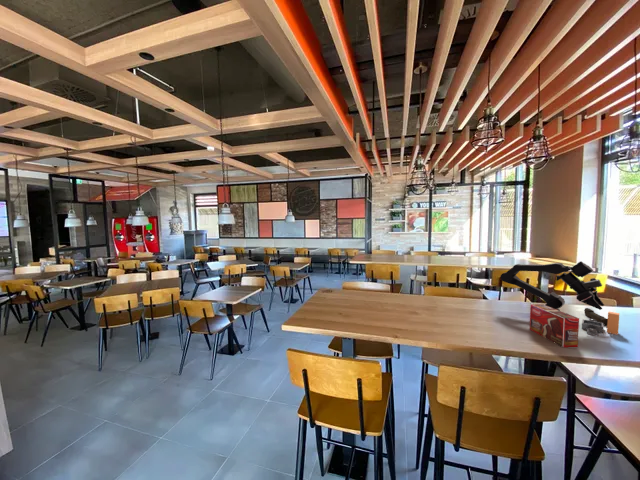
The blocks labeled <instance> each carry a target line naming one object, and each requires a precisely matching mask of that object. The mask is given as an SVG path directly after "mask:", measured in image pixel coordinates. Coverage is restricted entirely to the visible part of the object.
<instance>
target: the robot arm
mask: <svg viewBox="0 0 640 480" xmlns="http://www.w3.org/2000/svg"><path fill="white" fill-rule="evenodd" d="M519 272H543V273H544V272H545V273H547V274H548V273H549V274H553V275H556V277H555V278H556V282H558V281H560V280H562V282H564V283H565V284H566V285H567V286H568V287H569V289H570V290H573V291H574V292H575V293H576V300H577V301H578V302H581V303H583V304H585V305H587V306H590V307H593V308H595V309H597V310H599V311H601V310H603V307H604V306H605V304H604V302H603V301H602V300H601V298H600V297H599V295H598V290H597V288H599V287H600V288H602V286H603V284H602V282H601V280H600V279H596V277H592V278H590V280H588V281H584V280H581V279H579V277H580V278H583V277H586V276H587V275H589V274H591V273H593V272H594V269H593V268H592V267H591V266H590V265H588V264H586V263H585V262H583V261H579V262H577V263H576V264H575V265H572V266H571V265H570V266H568V265H565V264H564V263H561V262H553V263H545V264H520V263H518V264H514V265H513V266H512V267H511V268H510V269H508V270H507V271H506V272H502V273H501V275H500V281H502V282H503V283H506V284H509V285H515V286H517V287H519V288H521V289H522V290H524V291H527V292H528V293H530V294H531V295H534V296H535V297H537V298H539V299H541V300H543V301H544V303H545V304H544V305H546V306H549V307H551V308H554V309H556V310H559V311H561V309H560V308H562V307H563V306H564V305H565V304H566V301H565V299H564V297H563V296H562V295H561V294H557V293H556V292H554V291H552V292H550V293H549V292H546V291H544V290H543V289H541V288H538V287H536V286H534V285H532V284H530V283H528V282H526V281H524V280H522V279H521V278H519V277H518V276H517V274H519Z"/></svg>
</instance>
